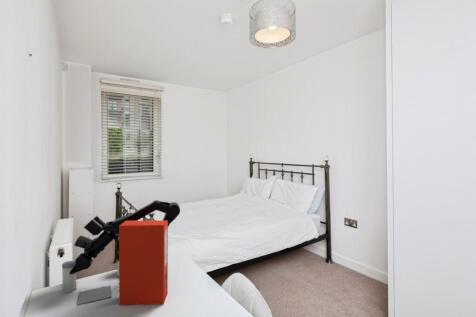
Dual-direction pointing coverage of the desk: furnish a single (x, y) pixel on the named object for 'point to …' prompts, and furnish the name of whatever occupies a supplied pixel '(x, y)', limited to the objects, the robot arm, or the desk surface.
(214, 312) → the desk surface
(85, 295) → the charcoal pad
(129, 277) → the file binder
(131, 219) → the robot arm
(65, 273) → the tin canister
